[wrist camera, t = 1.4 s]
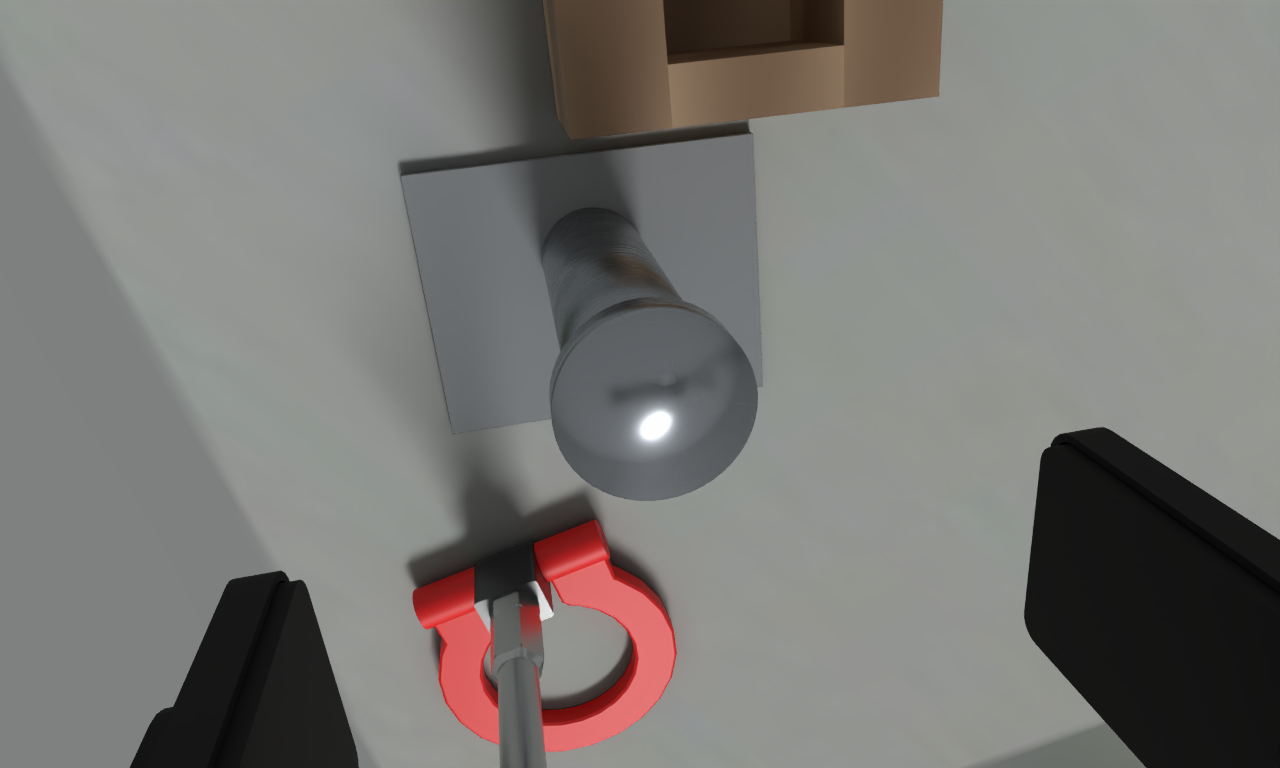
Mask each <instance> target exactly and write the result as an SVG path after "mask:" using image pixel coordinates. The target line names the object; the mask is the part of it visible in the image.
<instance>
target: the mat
mask: <svg viewBox="0 0 1280 768" xmlns="http://www.w3.org/2000/svg"><path fill="white" fill-rule="evenodd" d="M401 181H402V186H403V190H404V195H405V200H406V205H407V210H408V215H409V220H410V225H411V230H412V235H413V240H414V244H415V249H416V254H417V259H418V264H419V269H420V274H421V279H422V284H423V289H424V294H425V298H426V303H427V308H428V313H429V318H430V323H431V328H432V333H433V338H434V343H435V348H436V353H437V357H438V362H439V367H440V372H441V377H442V382H443V387H444V392H445V397H446V402H447V407H448V411H449V416H450V421H451V426H452V431H453V434H456V433H462V432H469V431H475V430H482V429H488V428H495V427H501V426H508V425H514V424H521V423H528V422H534V421H541V420H547V419H552V418H551V411H550V402H549V388H550V380H551V375H552V371H553V368H554V365H555V362H556V360H557V358H558V356H559V354H560V348H559V343H558V338H557V334H556V329H555V324H554V319H553V314H552V309H551V304H550V299H549V295H548V290H547V285H546V280H545V275H544V270H543V265H542V250H543V245H544V242H545V239H546V237H547V235H548V233H549V231H550V230H551V228H552V227H553V226H554V225H555V224H556V222H557V221H559V220H560V219H561V218H562V217H564V216H565V215H567V214H568V213H570V212H572V211H575V210H578V209H581V208H586V207H601V208H606V209H609V210H612V211H614V212H616V213H618V214H620V215H621V216H623V217H624V218H626V219H627V220H628V221H629V222H630V223H631V224H632V226H633V227H634V228H635V230H636V231H637V233H638V234H639V236H640V237H641V239H642V240H643V242H644V243H645V245H646V246H647V248H648V249H649V251H650V252H651V254H652V255H653V257H654V258H655V260H656V261H657V263H658V264H659V266H660V267H661V269H662V270H663V272H664V273H665V275H666V276H667V278H668V279H669V281H670V282H671V284H672V285H673V287H674V288H675V290H676V291H677V293H678V294H679V295H680V297H681V298H682V300H683V301H685V302H688V303H691V304H694V305H696V306H698V307H700V308H702V309H704V310H705V311H707V312H708V313H710V314H711V315H713V316H714V317H715V318H716V319H718V320H719V321H720V322H721V323H722V324H723V325H724V326H725V327H726V329H727V330H728V331H729V332H730V333H731V335H732V336H733V337H734V339H735V340H736V341H737V343H738V344H739V345H740V347H741V348H742V349H743V351H744V353H745V354H746V356H747V358H748V359H749V362H750V364H751V366H752V369H753V371H754V375H755V379H756V383H757V387H763V377H762V351H761V325H760V299H759V273H758V248H757V222H756V196H755V170H754V145H753V133H751V132H749V133H741V134H733V135H724V136H716V137H708V138H699V139H691V140H683V141H674V142H666V143H658V144H649V145H641V146H633V147H625V148H616V149H608V150H600V151H591V152H583V153H575V154H566V155H558V156H550V157H541V158H533V159H525V160H517V161H508V162H500V163H492V164H483V165H475V166H467V167H458V168H450V169H442V170H433V171H425V172H417V173H409V174H402V175H401Z"/></svg>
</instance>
